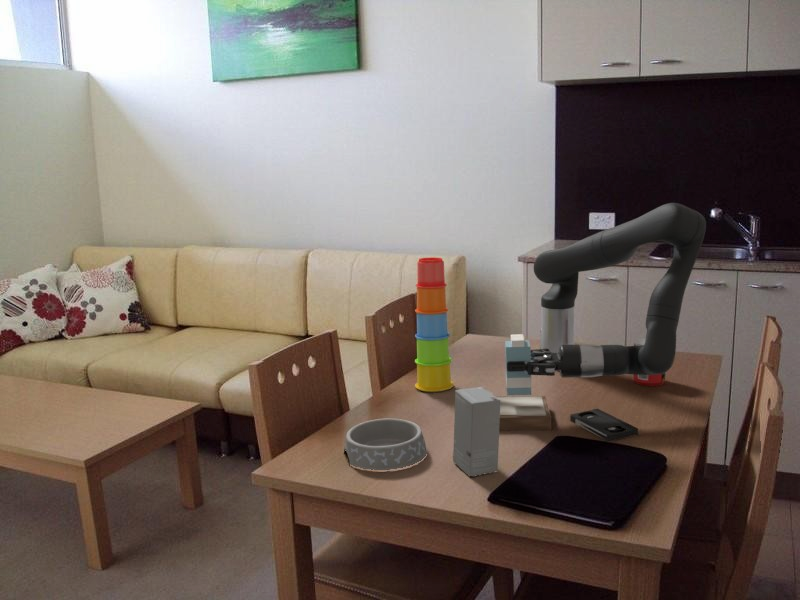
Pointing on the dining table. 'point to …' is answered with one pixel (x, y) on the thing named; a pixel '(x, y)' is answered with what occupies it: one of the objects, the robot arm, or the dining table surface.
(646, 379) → the canned food
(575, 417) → the vhs tape
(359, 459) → the dog bowl
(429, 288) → the stacking cups
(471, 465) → the skincare box
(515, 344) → the carton
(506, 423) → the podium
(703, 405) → the dining table surface
